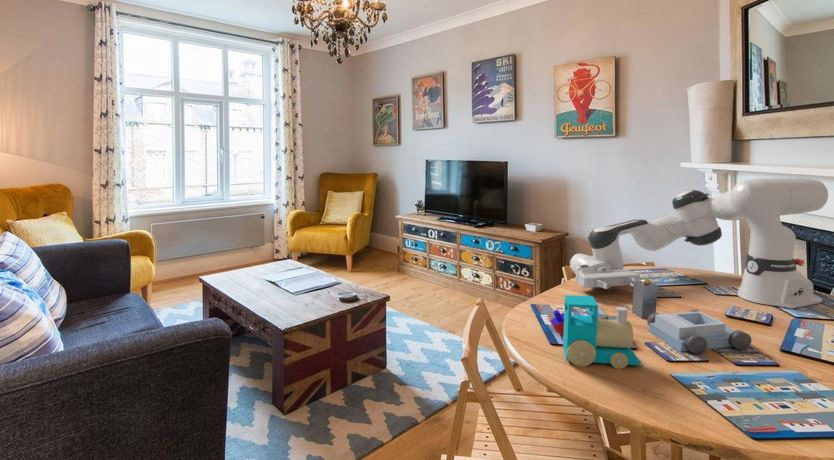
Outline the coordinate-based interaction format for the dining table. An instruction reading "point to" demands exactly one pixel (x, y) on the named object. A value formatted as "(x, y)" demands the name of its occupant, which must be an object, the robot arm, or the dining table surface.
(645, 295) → the engine block
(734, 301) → the dining table surface
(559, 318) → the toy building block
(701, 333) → the chassis
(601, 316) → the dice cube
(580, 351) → the toy train
